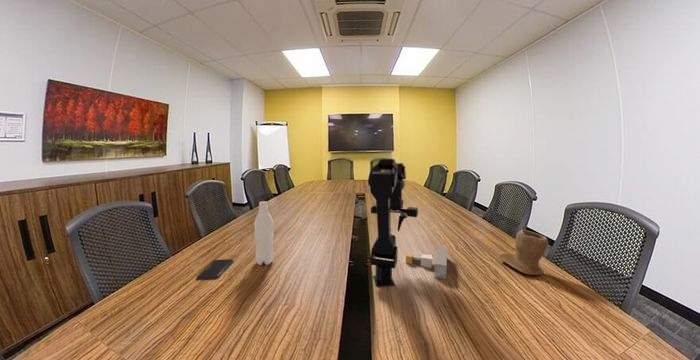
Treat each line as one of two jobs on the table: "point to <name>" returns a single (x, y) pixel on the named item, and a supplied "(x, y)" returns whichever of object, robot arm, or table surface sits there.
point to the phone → (215, 269)
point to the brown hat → (527, 252)
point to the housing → (440, 262)
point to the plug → (420, 260)
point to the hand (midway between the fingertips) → (393, 230)
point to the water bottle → (264, 235)
